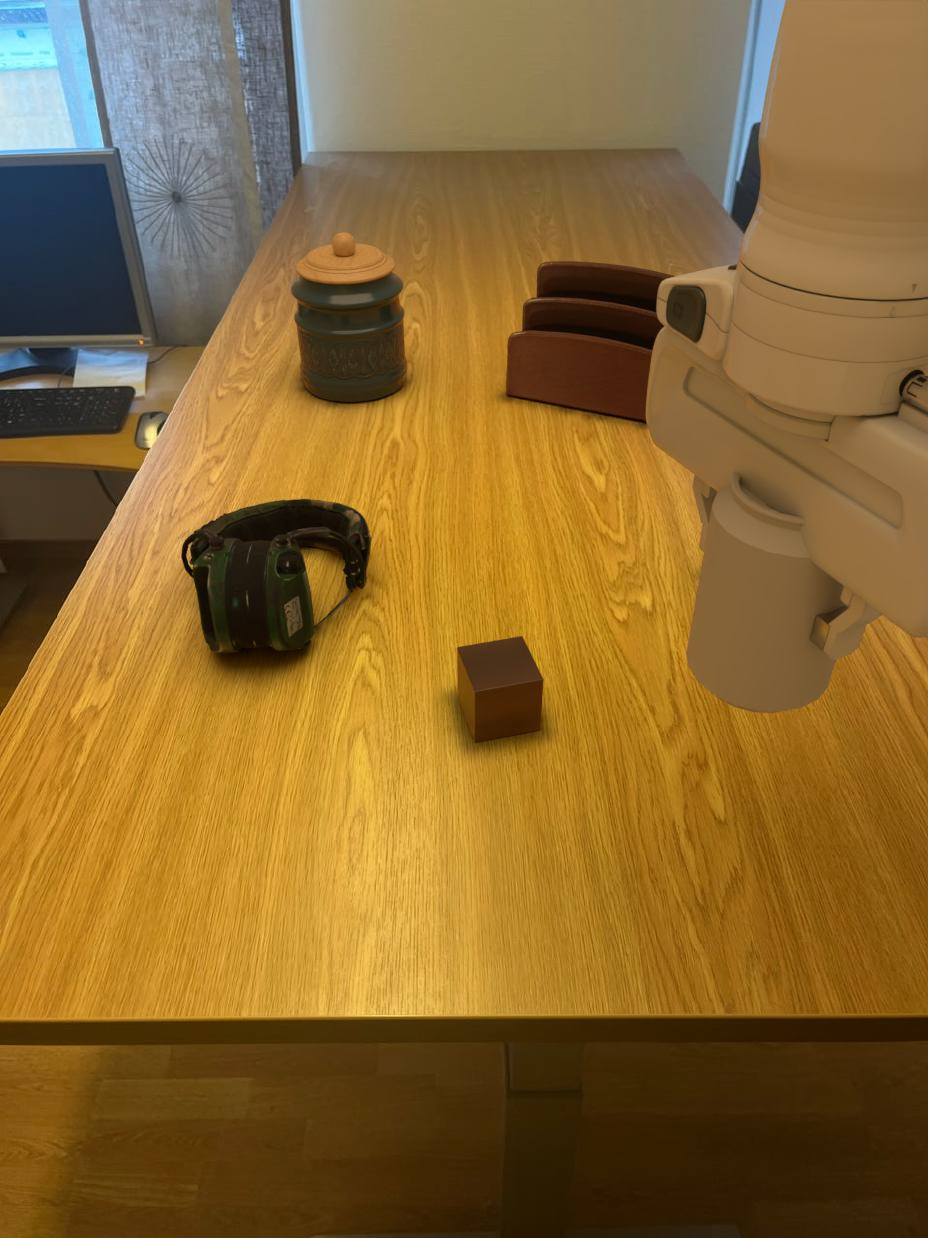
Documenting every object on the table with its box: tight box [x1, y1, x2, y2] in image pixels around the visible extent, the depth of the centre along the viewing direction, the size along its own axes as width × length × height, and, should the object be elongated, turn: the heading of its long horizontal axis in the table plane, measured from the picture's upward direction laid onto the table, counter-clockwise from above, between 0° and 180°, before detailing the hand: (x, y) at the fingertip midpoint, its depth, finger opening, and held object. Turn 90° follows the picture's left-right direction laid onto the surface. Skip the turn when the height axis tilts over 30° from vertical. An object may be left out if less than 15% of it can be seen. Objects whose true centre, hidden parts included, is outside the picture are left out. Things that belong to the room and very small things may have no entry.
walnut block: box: [456, 635, 545, 743], centre depth 69 cm, size 5×5×5 cm
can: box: [685, 472, 850, 714], centre depth 47 cm, size 8×8×12 cm
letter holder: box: [505, 260, 676, 422], centre depth 109 cm, size 10×20×14 cm, turn 65°
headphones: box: [180, 498, 373, 655], centre depth 78 cm, size 13×13×20 cm
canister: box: [290, 231, 408, 403], centre depth 111 cm, size 13×13×18 cm
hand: (771, 597), depth 48 cm, fingers closed on can, 7 cm apart
